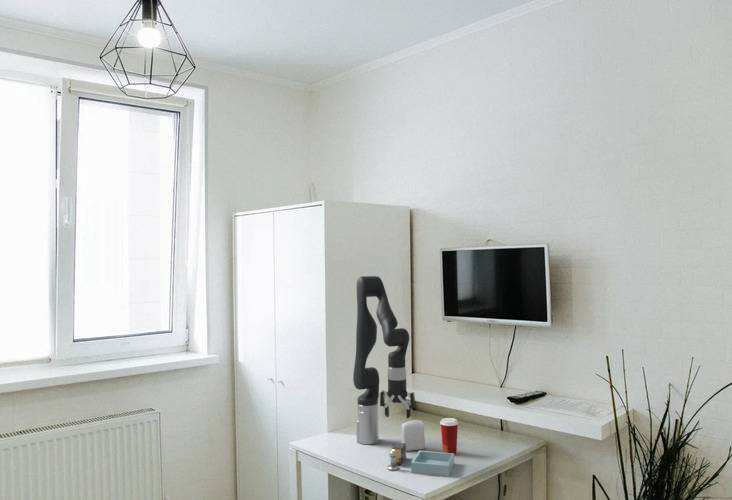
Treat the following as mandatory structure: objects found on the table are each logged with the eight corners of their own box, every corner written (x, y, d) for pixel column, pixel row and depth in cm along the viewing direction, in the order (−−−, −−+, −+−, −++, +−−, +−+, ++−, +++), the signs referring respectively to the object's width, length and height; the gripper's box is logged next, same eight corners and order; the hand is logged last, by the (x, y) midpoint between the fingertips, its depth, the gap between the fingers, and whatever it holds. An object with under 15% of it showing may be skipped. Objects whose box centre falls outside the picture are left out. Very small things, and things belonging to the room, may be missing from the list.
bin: (411, 472, 224) (411, 462, 224) (419, 460, 237) (419, 450, 237) (448, 476, 219) (448, 465, 219) (454, 463, 233) (454, 453, 233)
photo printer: (404, 452, 247) (403, 423, 247) (400, 449, 251) (399, 420, 251) (426, 449, 250) (425, 420, 250) (422, 446, 254) (421, 418, 254)
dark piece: (390, 465, 232) (390, 450, 232) (396, 456, 241) (396, 442, 242) (400, 466, 231) (399, 451, 231) (406, 457, 240) (405, 443, 240)
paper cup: (461, 451, 247) (460, 418, 247) (456, 457, 240) (455, 423, 240) (443, 449, 250) (442, 416, 250) (438, 454, 243) (437, 421, 243)
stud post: (386, 470, 227) (385, 452, 227) (389, 466, 231) (388, 448, 231) (396, 471, 225) (396, 453, 225) (399, 467, 230) (399, 449, 230)
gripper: (416, 376, 238) (416, 416, 237) (382, 374, 242) (383, 413, 242) (412, 380, 230) (412, 421, 230) (377, 378, 235) (378, 418, 235)
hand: (397, 417), depth 236 cm, fingers open, 8 cm apart
